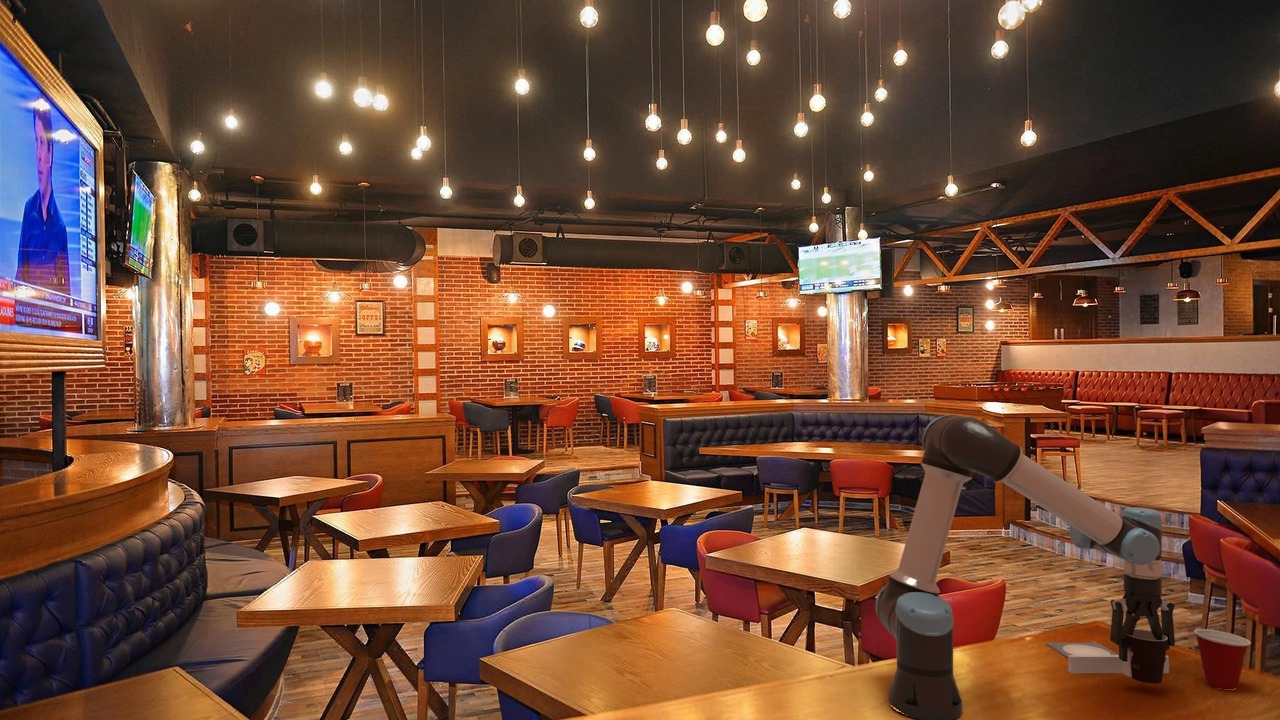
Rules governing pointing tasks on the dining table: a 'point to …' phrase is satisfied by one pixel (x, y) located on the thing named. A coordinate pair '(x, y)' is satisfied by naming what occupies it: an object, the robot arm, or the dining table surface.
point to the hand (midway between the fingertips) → (1142, 675)
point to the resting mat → (1080, 649)
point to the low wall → (1099, 664)
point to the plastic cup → (1221, 657)
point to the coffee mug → (1146, 656)
